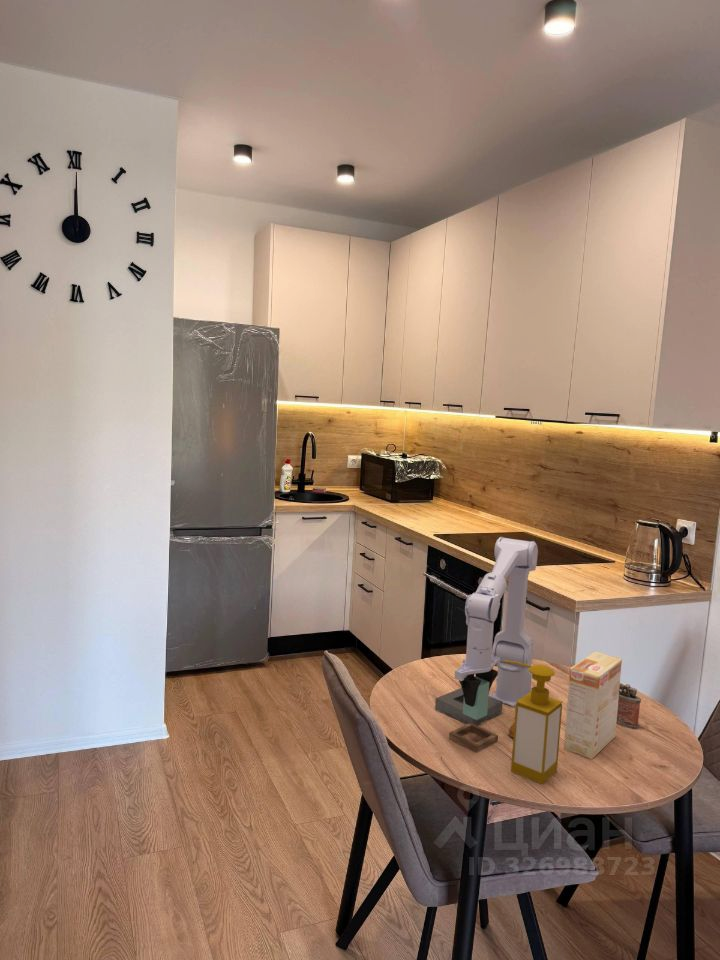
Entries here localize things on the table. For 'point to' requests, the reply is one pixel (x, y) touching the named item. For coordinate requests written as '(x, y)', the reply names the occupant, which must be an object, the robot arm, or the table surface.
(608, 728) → the coffeecake box
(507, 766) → the table surface
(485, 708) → the teal peg
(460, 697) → the socket block
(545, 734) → the soap bottle
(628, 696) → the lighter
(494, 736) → the stand frame
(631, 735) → the table surface
